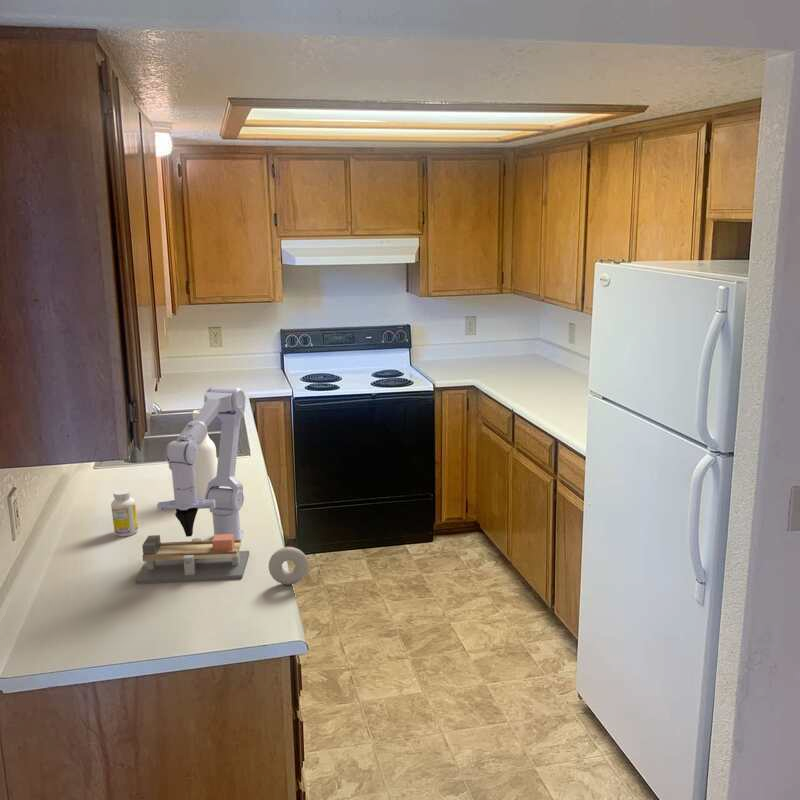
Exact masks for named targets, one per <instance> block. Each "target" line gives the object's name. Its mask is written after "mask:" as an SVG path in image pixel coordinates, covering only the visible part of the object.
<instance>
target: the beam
mask: <svg viewBox="0 0 800 800" xmlns="http://www.w3.org/2000/svg"><path fill="white" fill-rule="evenodd" d="M141 546H142V562H146V561H159V560H182V559H183V558H184V556H185V555H194V559H204V558H227V557H237V555H238V552H239V551H240V549H241V546H242V539H235V540H234V547H233V550H232V551H213V545H212V540H202V541H192V540H191V541H189V540H188V541H169V542H161V534H160V535H159V534H158V535H155V534H154V535H152V534H151V535H148V536H147V537H146V539H145V540H144V542H143V544H142V545H141Z"/></svg>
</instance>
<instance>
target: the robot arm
mask: <svg viewBox="0 0 800 800" xmlns="http://www.w3.org/2000/svg"><path fill="white" fill-rule="evenodd" d="M203 397H204V398H203V400H204V404H203V406H202V408H201V409H200V410H201V411H200V413H199V415H198V416H197V418H196V420H195V421H193V420H191V421H189V422H188V423H187V424H186V426H185V427H184V428H183V430H182V431H181V432H180V434H179V436H178V437H177V439H176V440H172V441H170V442H169V443H168V444H167V445H166V448H165V454H164V458H165V461H166V462H167V463H168V468H169V470H171V478H172V479H171V480H172V488H173V496H174V497H173V499H172V500H166V501H158V503H157V504H156V506H157V512H159V513H160V512H163V511H175V517H176V518H177V519H178V521H179V523H180V525H181V526H182V529H183V531H184V534H185V537H188V538H190V537H192V536H193V533H194V524H195V520H196V516H197V514H198V511H199V510H200V509H201V510H202V509H204V510H205V509H208V510H209V512H210V513H212V514H211V515H212V523H213V524H212V525H213V534H214V535H219V534H234V540H235V539H241V540H242V539H243V535H244V532H245V530H244V529H241V524H240V522H241V521H240V510H241V509H242V507H243V504H244V502H245V501H244V500H245V496H244V485H243V484H242V482H240V480H238V479H237V478H236V468H237V458H238V457H237V456H238V448H239V437H240V429H241V428H240V426H241V419H242V418H244V417H245V412H246V411H245V408H246V395H245V392H244V391H243V389H242V388H240V387H236V388H234V387H232V388H231V387H214V386H210V387H208V388H207V390H206V392H205V394H204V395H203ZM216 417H218V418H219V420H220V422H221V427H220V438H219V449H218V456H217V458H218V459H217V475H216V477H215V478H214V479H212V480H211V481H210V482H209V483H208V487H207V491H206V493H205V497H204V499H198V498H197V490H196V479H195V468H194V462H195V461H196V459H197V456H198V451H199V449H200V448H199V446H200V444H201V443H202V441H203V440H204V438H205V437H206V435H207V433H208V426H209V425H210V424H211V423H212V422H213V420H215V418H216ZM208 434H209V433H208ZM218 487H219V488H218ZM226 487H227V488H226ZM214 535H213V536H214Z"/></svg>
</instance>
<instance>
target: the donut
mask: <svg viewBox="0 0 800 800" xmlns="http://www.w3.org/2000/svg"><path fill="white" fill-rule="evenodd" d="M288 561H291V562H293V563H294V565H295V567H294V568H293V569H292V570H286V569H284V568H283V564H284V563H285V562H288ZM309 564H310V563H309V560H308V557H307V556H306V553H304V552H303V551H302V550H301V549H299V548H296V547H293V546H284V547H281V548H278V549H277V550H275V552H273V554H272V555H271V556H270V558H269V561H268V570H269V574H270V576H271V577H272V579H273V580H274V581H275V582H277V583H279V584H282V585H288V586H291V585H295V584H298V583H299V582H301V581H302V580H303V579H304V578H305V577H306V575H307V574H308V571H309Z"/></svg>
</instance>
